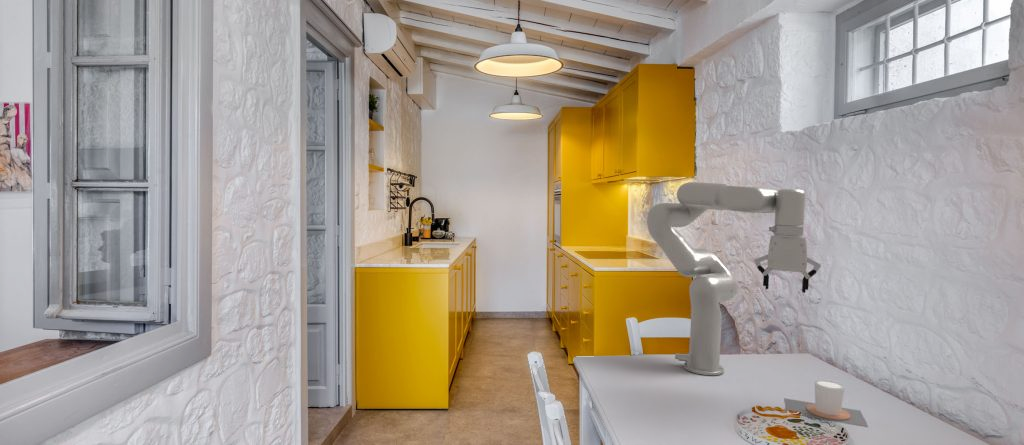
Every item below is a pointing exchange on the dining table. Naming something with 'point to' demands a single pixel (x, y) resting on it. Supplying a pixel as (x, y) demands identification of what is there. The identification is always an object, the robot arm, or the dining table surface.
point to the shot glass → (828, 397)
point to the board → (802, 407)
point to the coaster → (842, 416)
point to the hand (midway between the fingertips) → (785, 290)
